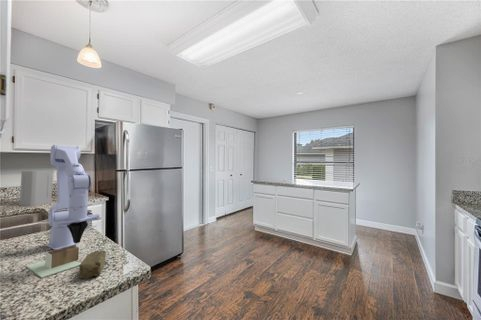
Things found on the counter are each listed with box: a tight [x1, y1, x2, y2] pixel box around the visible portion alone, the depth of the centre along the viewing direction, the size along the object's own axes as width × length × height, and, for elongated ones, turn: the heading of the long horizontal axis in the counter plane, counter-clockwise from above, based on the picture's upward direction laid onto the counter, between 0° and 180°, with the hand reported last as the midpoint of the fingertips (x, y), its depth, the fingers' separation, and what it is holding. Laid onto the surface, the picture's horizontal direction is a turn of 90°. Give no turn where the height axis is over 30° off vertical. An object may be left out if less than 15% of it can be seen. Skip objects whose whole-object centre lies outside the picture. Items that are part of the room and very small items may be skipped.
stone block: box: [78, 250, 107, 280], centre depth 74 cm, size 6×12×5 cm, turn 23°
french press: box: [85, 200, 95, 231], centre depth 120 cm, size 10×12×25 cm
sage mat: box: [25, 259, 81, 279], centre depth 76 cm, size 14×11×1 cm
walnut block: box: [44, 245, 80, 269], centre depth 78 cm, size 4×4×8 cm
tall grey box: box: [19, 170, 54, 207], centre depth 180 cm, size 19×15×28 cm
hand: (76, 242), depth 82 cm, fingers closed
